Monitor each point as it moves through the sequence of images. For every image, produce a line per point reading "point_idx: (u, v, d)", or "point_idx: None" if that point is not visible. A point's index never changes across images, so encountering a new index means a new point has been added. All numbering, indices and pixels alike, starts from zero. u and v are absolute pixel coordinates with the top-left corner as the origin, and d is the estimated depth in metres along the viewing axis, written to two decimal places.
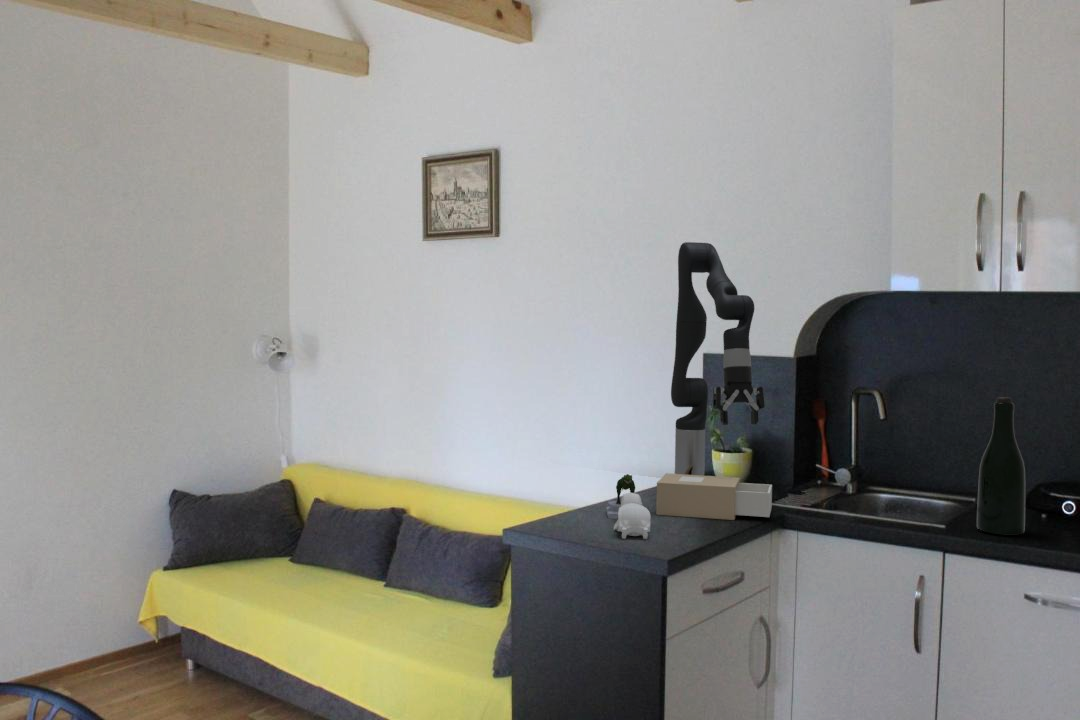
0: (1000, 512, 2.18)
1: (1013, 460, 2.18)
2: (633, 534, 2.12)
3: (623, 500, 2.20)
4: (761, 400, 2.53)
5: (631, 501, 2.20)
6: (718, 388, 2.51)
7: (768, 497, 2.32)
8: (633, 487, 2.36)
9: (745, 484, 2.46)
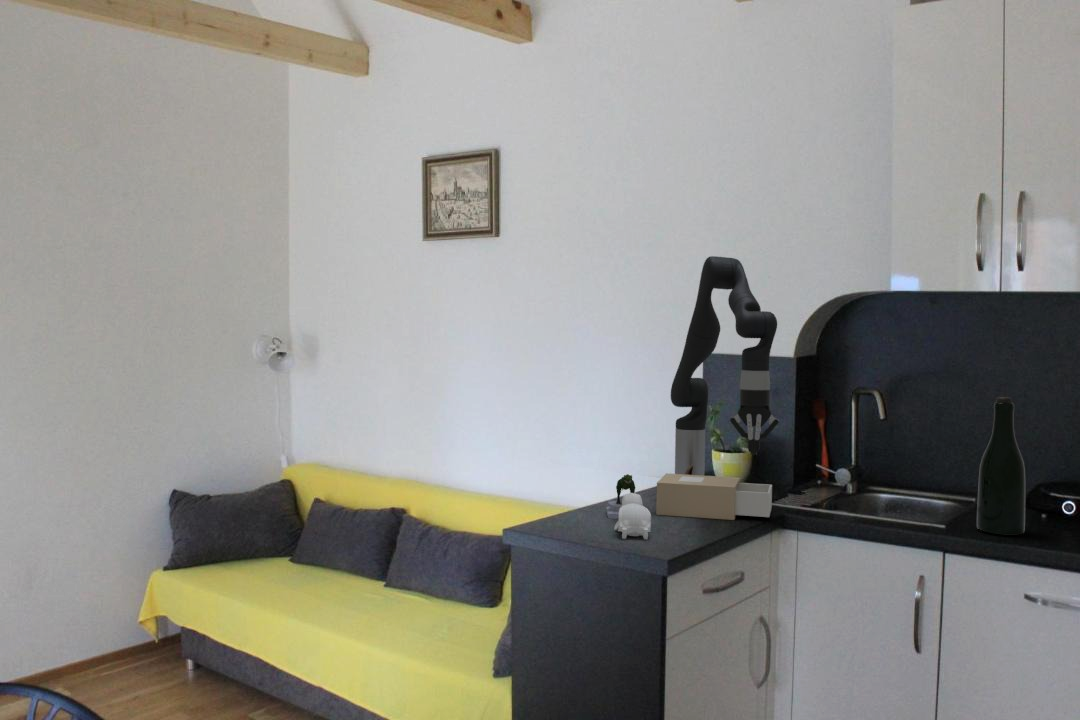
0: (1000, 512, 2.18)
1: (1013, 460, 2.18)
2: (633, 534, 2.12)
3: (624, 500, 2.20)
4: (767, 430, 2.37)
5: (632, 501, 2.19)
6: (731, 420, 2.39)
7: (768, 497, 2.32)
8: (633, 487, 2.36)
9: (745, 484, 2.46)
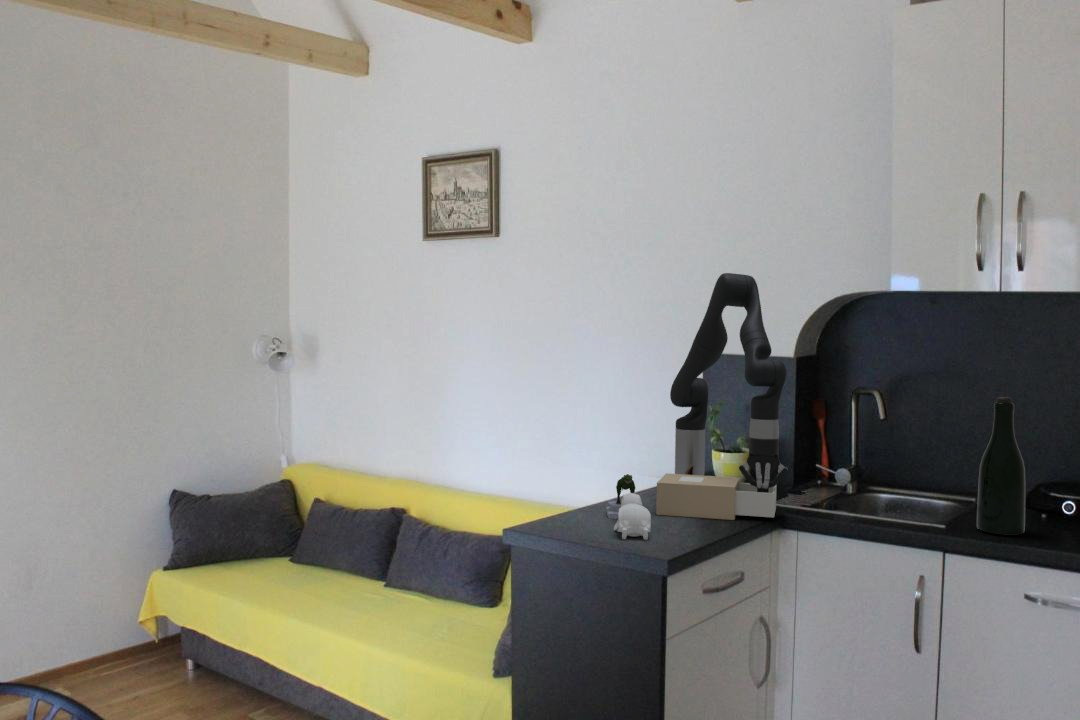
0: (1000, 512, 2.18)
1: (1013, 460, 2.18)
2: (633, 534, 2.12)
3: (623, 500, 2.20)
4: (776, 479, 2.36)
5: (631, 501, 2.19)
6: (740, 468, 2.39)
7: (773, 497, 2.32)
8: (633, 487, 2.36)
9: (749, 484, 2.46)
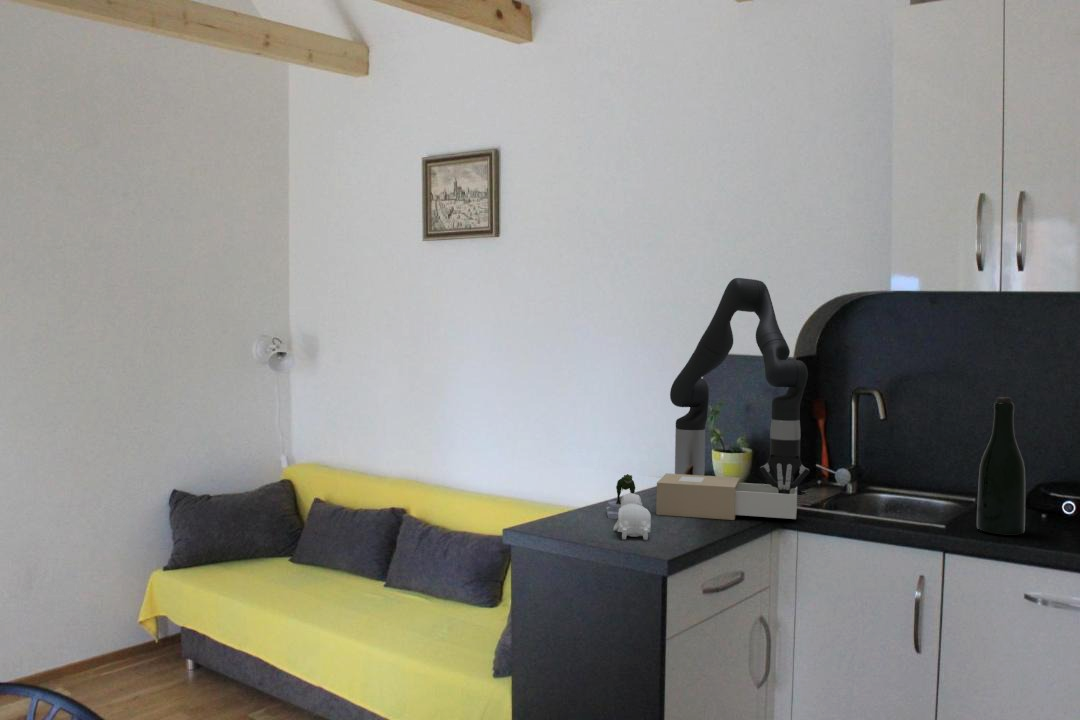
0: (1000, 512, 2.18)
1: (1013, 460, 2.18)
2: (633, 535, 2.12)
3: (623, 501, 2.20)
4: (797, 480, 2.35)
5: (631, 502, 2.19)
6: (761, 469, 2.37)
7: (795, 499, 2.30)
8: (633, 487, 2.36)
9: (770, 485, 2.44)
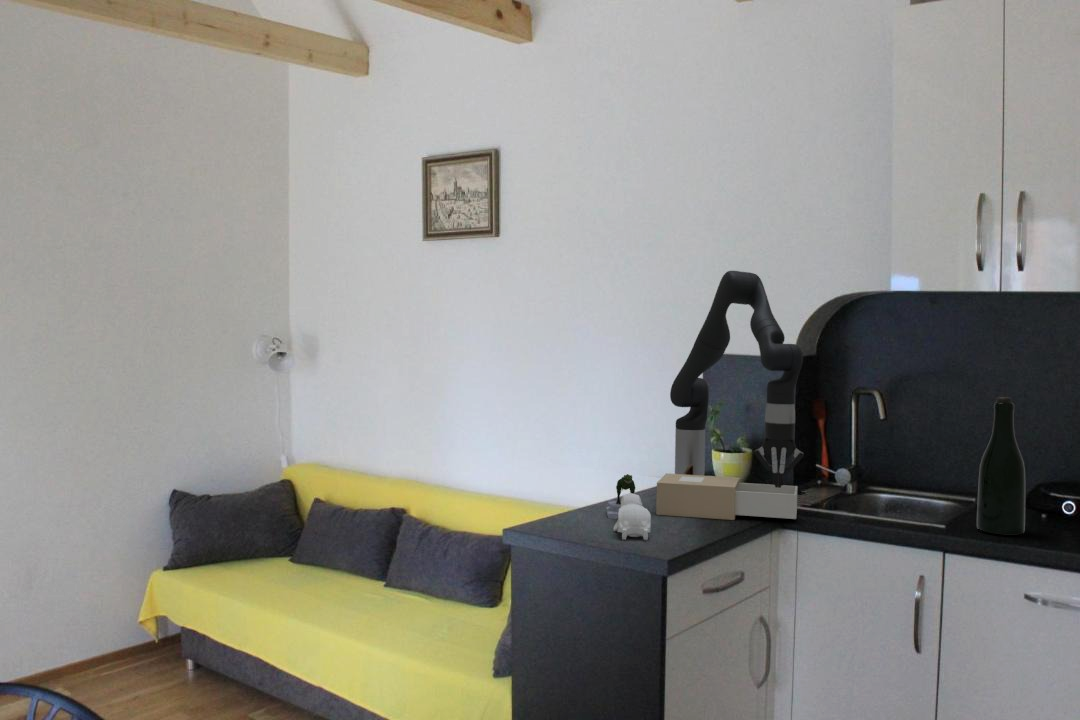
0: (1000, 512, 2.18)
1: (1013, 460, 2.18)
2: (633, 535, 2.11)
3: (623, 501, 2.19)
4: (792, 464, 2.35)
5: (631, 502, 2.19)
6: (756, 452, 2.38)
7: (795, 499, 2.30)
8: (633, 487, 2.36)
9: (770, 485, 2.44)
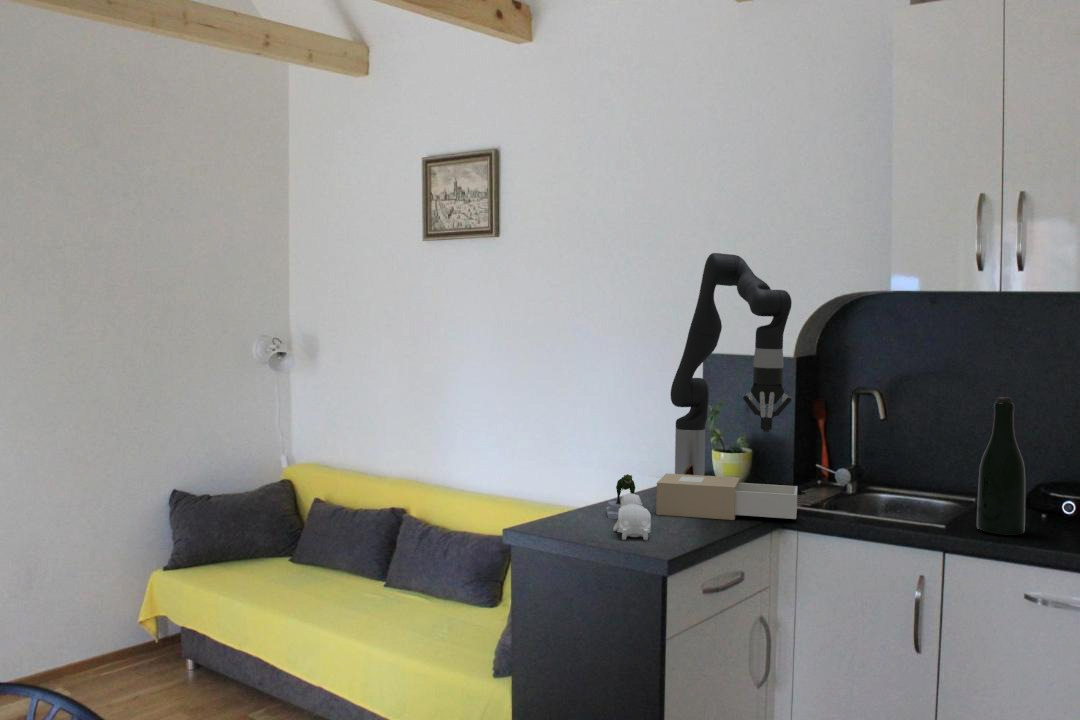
0: (1000, 512, 2.18)
1: (1013, 460, 2.18)
2: (633, 535, 2.11)
3: (623, 501, 2.19)
4: (780, 408, 2.38)
5: (631, 502, 2.19)
6: (744, 397, 2.41)
7: (795, 499, 2.30)
8: (633, 487, 2.36)
9: (770, 485, 2.44)
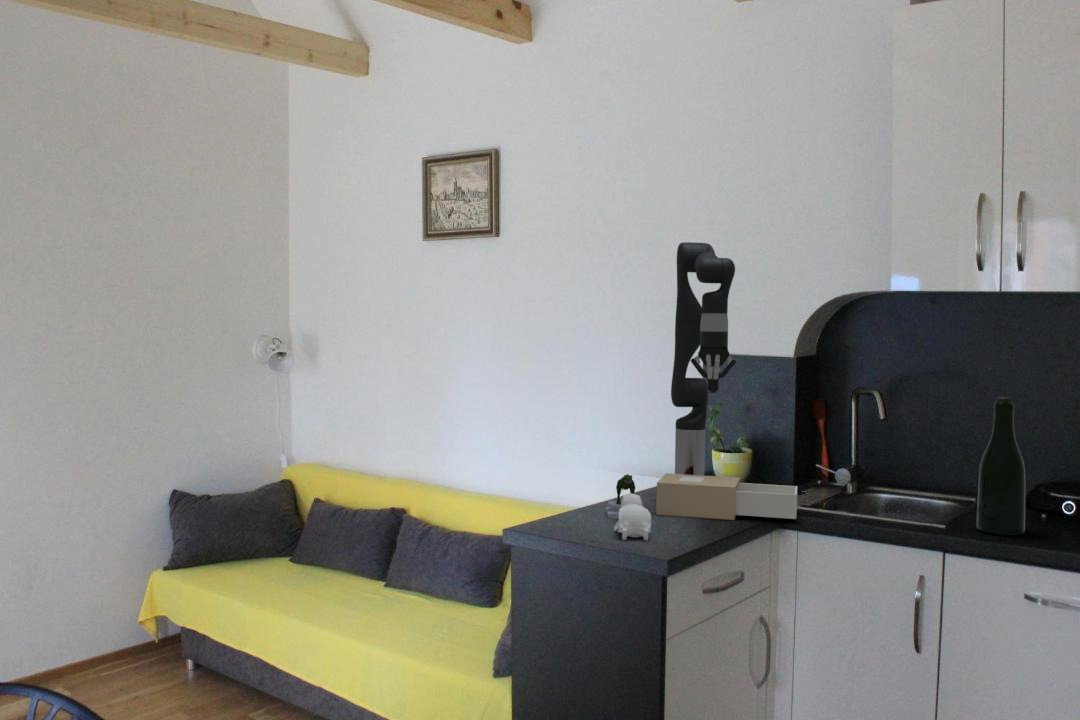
0: (1000, 512, 2.18)
1: (1013, 460, 2.18)
2: (634, 535, 2.11)
3: (623, 501, 2.19)
4: (725, 370, 2.51)
5: (631, 502, 2.18)
6: (692, 360, 2.54)
7: (795, 499, 2.30)
8: (633, 487, 2.36)
9: (770, 485, 2.44)
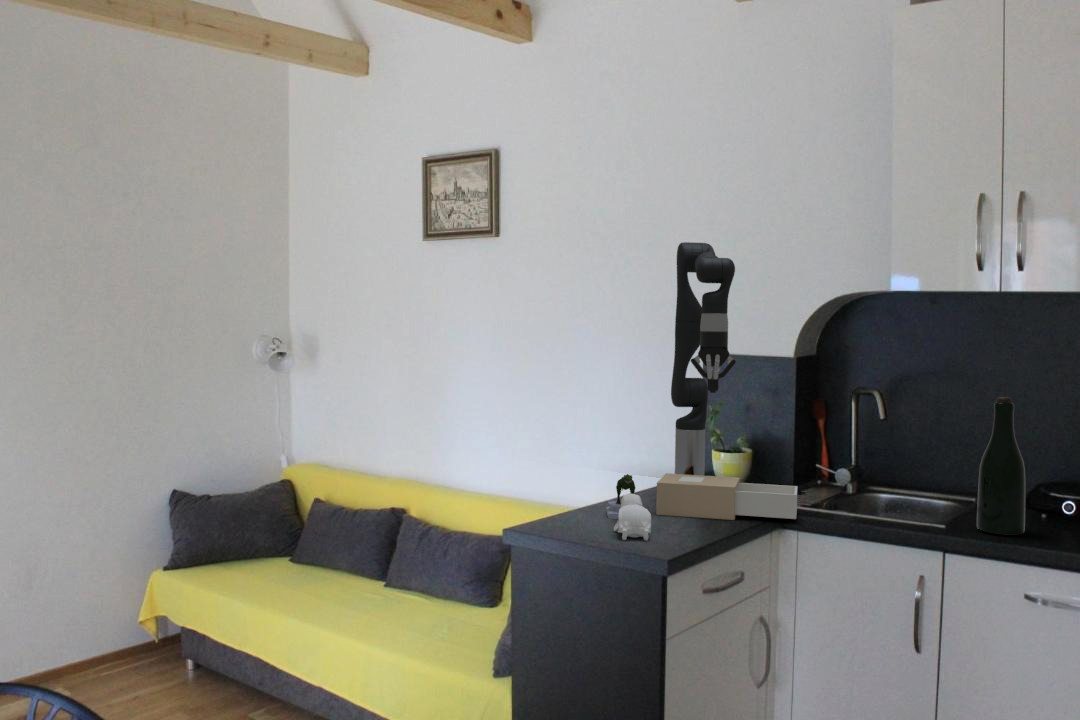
0: (1000, 512, 2.18)
1: (1013, 460, 2.18)
2: (634, 535, 2.11)
3: (623, 501, 2.19)
4: (725, 370, 2.51)
5: (631, 502, 2.18)
6: (692, 360, 2.54)
7: (795, 499, 2.30)
8: (633, 487, 2.36)
9: (770, 485, 2.44)
